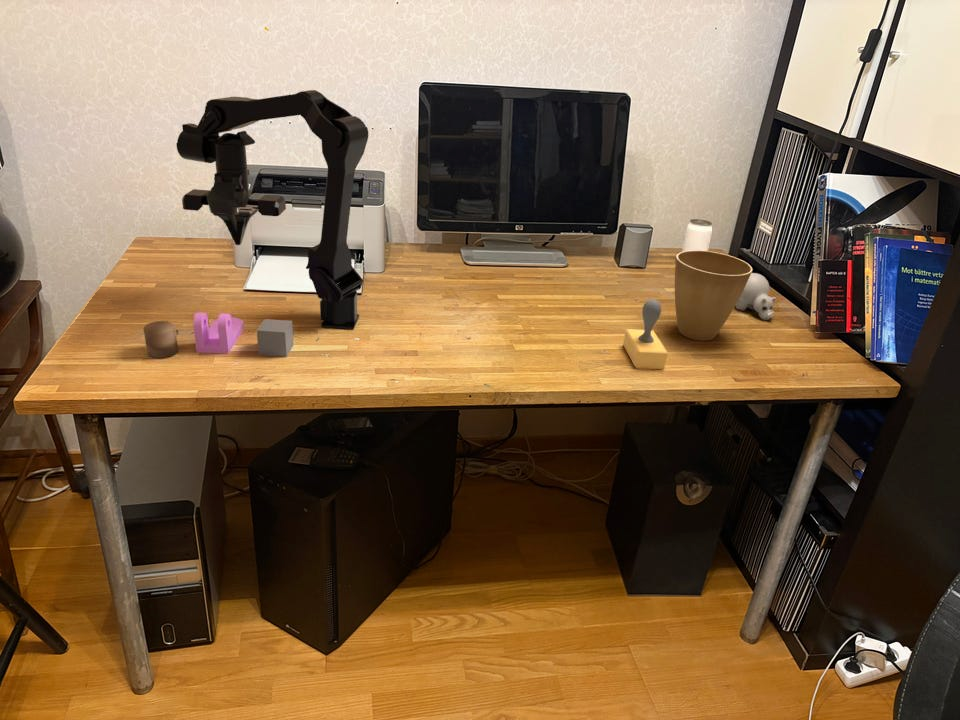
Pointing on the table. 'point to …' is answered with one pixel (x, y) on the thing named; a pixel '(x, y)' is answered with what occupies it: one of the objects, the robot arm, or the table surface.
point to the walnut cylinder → (161, 339)
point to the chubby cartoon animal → (757, 296)
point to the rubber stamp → (646, 340)
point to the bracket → (216, 333)
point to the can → (697, 235)
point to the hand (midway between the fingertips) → (238, 244)
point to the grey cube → (275, 338)
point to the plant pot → (707, 291)
